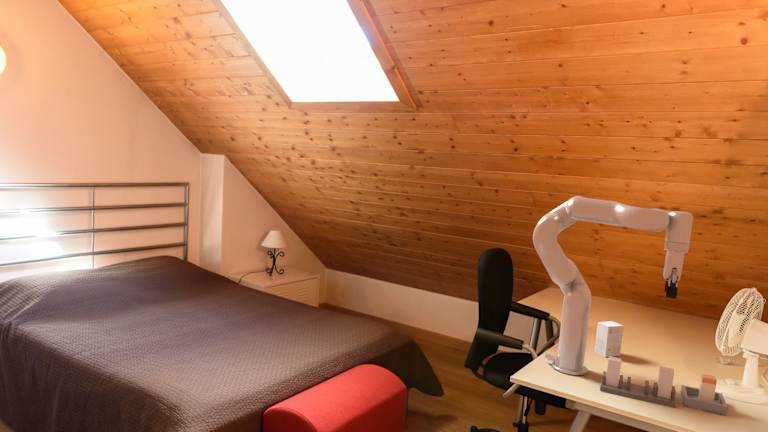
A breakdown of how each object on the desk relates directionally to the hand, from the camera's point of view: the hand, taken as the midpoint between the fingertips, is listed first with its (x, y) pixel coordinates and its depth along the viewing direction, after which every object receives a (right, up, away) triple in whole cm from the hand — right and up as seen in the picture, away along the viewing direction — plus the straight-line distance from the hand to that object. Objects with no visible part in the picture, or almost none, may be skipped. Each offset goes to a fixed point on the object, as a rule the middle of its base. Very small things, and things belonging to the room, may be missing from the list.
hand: (670, 295), depth 190 cm
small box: (-8, -30, +34) cm, 46 cm away
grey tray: (+6, -35, -9) cm, 37 cm away
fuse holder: (-14, -33, -5) cm, 36 cm away
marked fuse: (+7, -34, -10) cm, 36 cm away
